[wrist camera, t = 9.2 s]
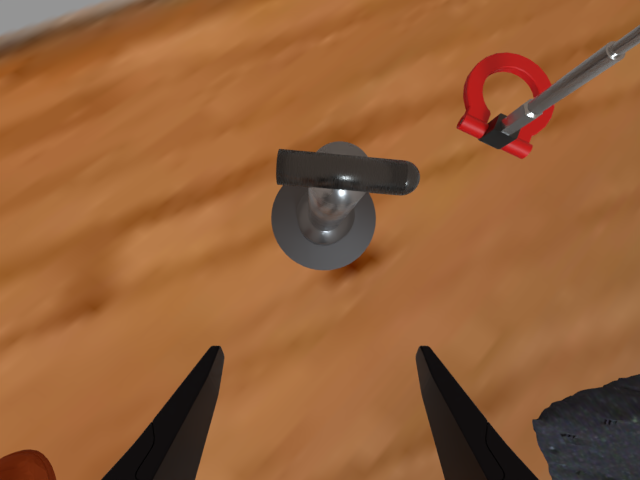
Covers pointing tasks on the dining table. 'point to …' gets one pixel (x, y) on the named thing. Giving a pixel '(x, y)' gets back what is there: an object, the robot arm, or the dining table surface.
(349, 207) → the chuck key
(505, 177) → the dining table surface
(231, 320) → the dining table surface
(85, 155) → the dining table surface
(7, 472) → the toy drill
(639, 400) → the cast iron trivet
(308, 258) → the mat
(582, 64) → the tow hook
